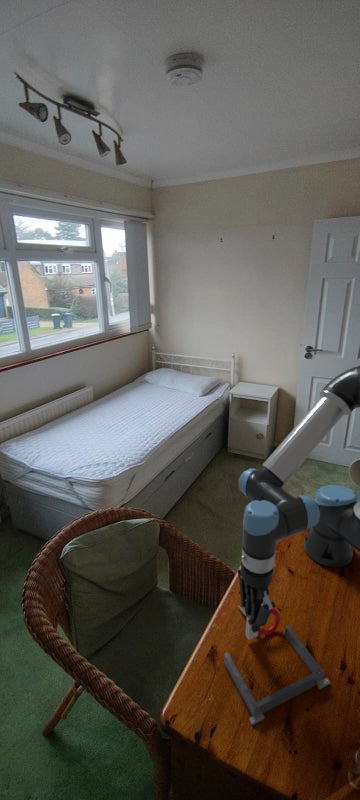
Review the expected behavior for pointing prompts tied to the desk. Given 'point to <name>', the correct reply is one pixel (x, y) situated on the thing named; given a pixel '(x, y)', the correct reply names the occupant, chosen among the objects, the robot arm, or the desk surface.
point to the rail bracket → (285, 693)
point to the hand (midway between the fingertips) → (251, 635)
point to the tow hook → (270, 630)
